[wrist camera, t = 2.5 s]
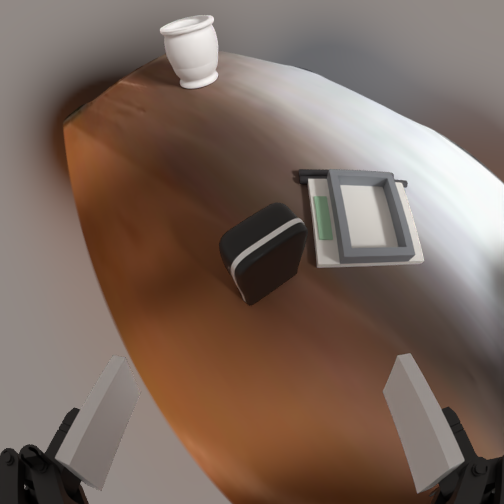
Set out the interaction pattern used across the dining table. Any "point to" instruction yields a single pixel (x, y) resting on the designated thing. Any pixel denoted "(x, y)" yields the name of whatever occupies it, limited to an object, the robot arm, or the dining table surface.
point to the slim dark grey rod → (325, 176)
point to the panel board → (362, 220)
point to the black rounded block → (263, 250)
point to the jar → (192, 50)
